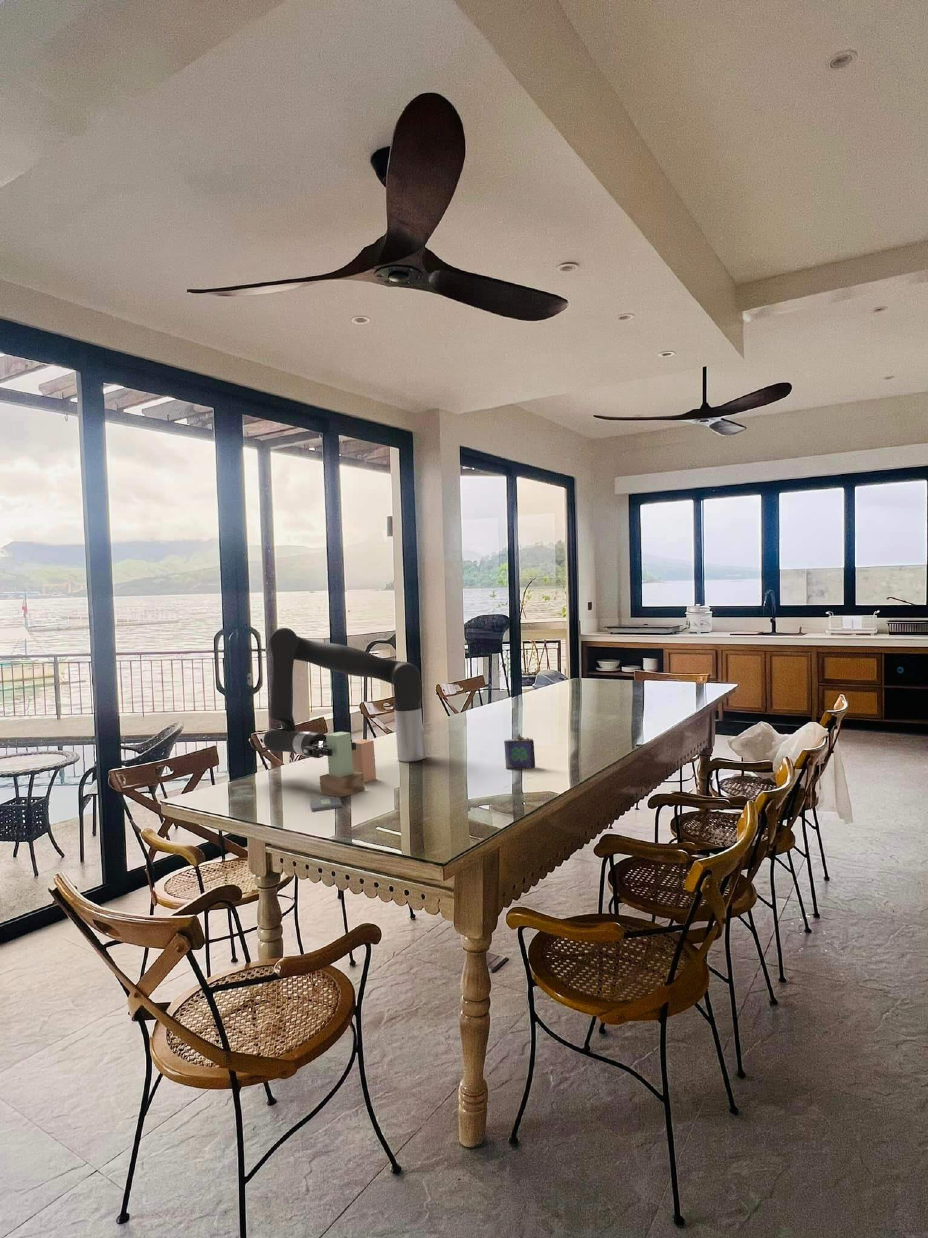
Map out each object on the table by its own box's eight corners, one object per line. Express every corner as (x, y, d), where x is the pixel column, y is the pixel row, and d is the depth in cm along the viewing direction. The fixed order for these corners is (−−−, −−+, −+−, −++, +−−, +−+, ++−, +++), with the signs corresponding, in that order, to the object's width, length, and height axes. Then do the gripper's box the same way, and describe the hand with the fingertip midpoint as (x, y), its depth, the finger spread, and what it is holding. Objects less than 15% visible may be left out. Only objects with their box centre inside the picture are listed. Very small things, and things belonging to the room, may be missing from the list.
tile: (338, 799, 201) (338, 796, 201) (342, 807, 193) (341, 803, 193) (309, 803, 199) (309, 800, 198) (312, 811, 191) (311, 807, 191)
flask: (505, 769, 222) (503, 735, 222) (506, 767, 225) (504, 733, 224) (535, 769, 220) (533, 734, 220) (535, 766, 223) (533, 732, 223)
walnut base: (345, 785, 215) (344, 769, 215) (364, 789, 209) (363, 772, 209) (320, 793, 209) (319, 776, 209) (339, 797, 203) (338, 780, 202)
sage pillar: (342, 771, 212) (339, 731, 212) (353, 773, 209) (350, 733, 209) (329, 775, 209) (326, 734, 208) (339, 777, 205) (336, 736, 205)
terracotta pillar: (365, 777, 224) (363, 739, 224) (376, 779, 221) (373, 740, 221) (353, 780, 221) (350, 742, 220) (363, 783, 217) (360, 743, 217)
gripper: (289, 736, 213) (322, 741, 202) (328, 727, 223) (361, 732, 212) (291, 761, 213) (324, 767, 202) (330, 751, 224) (363, 757, 213)
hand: (343, 749), depth 207 cm, fingers open, 8 cm apart
